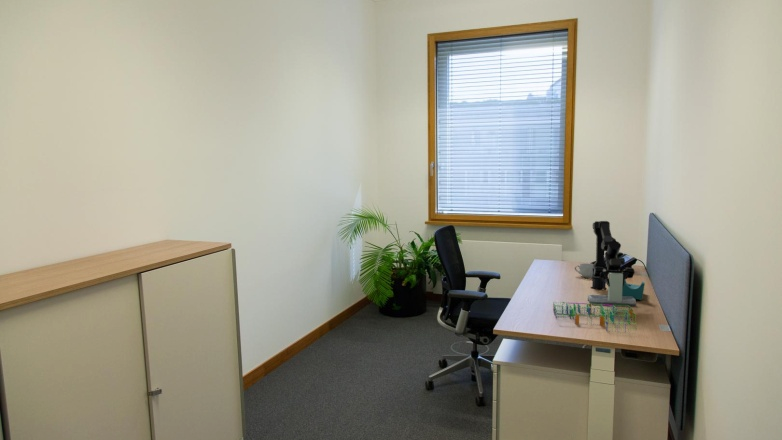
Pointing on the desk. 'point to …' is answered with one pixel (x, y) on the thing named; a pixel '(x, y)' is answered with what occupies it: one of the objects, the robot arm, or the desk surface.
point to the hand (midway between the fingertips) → (615, 286)
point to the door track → (604, 300)
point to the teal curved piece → (633, 290)
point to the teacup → (585, 269)
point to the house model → (602, 318)
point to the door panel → (615, 287)
